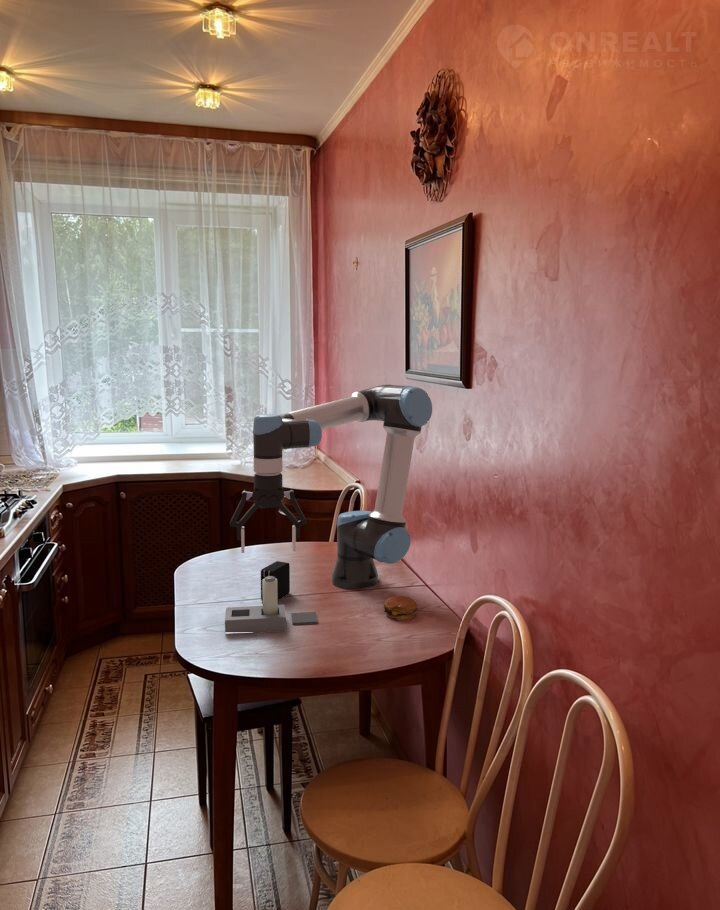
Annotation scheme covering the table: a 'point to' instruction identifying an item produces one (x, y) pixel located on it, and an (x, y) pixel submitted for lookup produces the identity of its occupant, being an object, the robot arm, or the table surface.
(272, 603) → the plug
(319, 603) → the table surface
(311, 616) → the coaster
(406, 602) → the burger
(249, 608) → the gray cinder block
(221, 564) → the table surface
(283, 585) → the electronic device
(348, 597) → the table surface
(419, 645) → the table surface
